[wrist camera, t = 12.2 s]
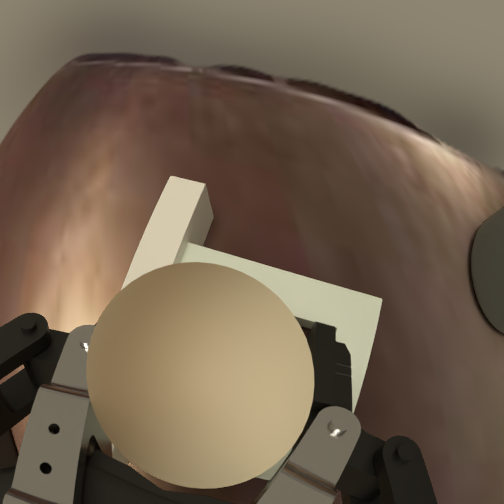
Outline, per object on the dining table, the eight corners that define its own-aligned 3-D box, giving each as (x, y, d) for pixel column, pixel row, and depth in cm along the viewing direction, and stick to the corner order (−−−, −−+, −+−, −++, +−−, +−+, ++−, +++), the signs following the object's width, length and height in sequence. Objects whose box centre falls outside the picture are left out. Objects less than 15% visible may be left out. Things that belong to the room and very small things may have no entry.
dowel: (295, 340, 17) (342, 299, 5) (272, 413, 15) (269, 515, 4) (220, 317, 17) (128, 237, 6) (197, 389, 16) (66, 428, 5)
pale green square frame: (364, 307, 17) (382, 298, 15) (314, 471, 14) (324, 489, 11) (197, 258, 18) (188, 242, 16) (143, 421, 15) (124, 430, 12)
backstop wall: (213, 217, 19) (205, 184, 15) (133, 459, 14) (105, 480, 11) (184, 209, 19) (170, 175, 16) (104, 445, 15) (72, 461, 11)
